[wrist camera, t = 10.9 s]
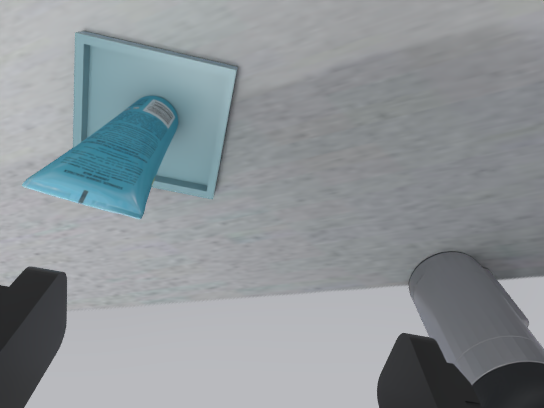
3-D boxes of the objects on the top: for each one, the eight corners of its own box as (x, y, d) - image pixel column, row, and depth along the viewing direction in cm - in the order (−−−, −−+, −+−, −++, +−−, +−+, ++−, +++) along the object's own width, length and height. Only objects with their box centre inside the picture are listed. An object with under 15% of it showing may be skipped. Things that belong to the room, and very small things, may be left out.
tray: (237, 66, 42) (236, 70, 40) (214, 191, 48) (212, 199, 47) (83, 30, 41) (75, 32, 39) (80, 164, 47) (72, 171, 45)
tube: (117, 132, 45) (21, 220, 28) (121, 87, 43) (20, 151, 25) (188, 148, 45) (137, 243, 28) (195, 104, 43) (145, 178, 26)
